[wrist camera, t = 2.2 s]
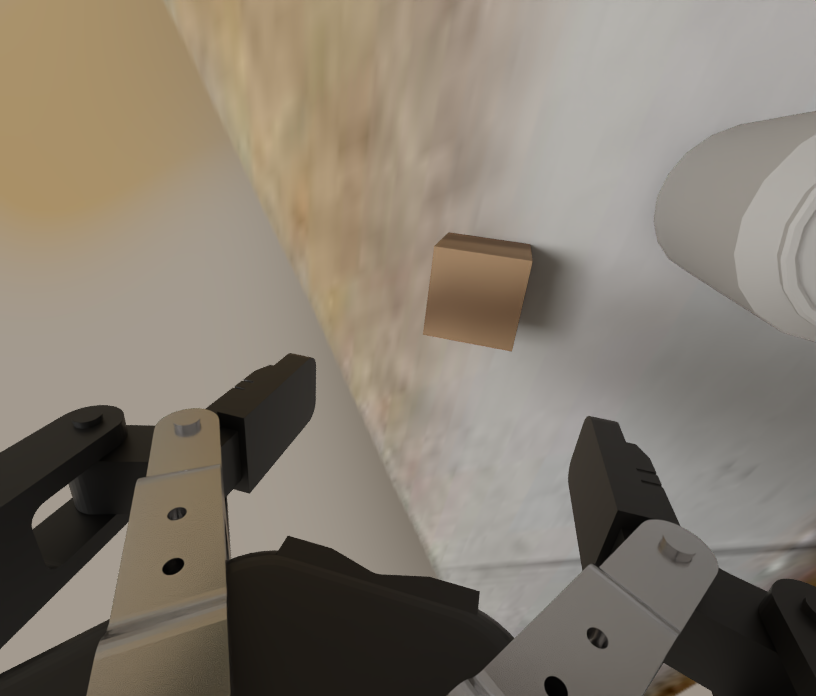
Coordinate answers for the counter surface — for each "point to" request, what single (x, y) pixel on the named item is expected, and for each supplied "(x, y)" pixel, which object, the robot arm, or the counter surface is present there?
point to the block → (477, 290)
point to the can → (749, 218)
